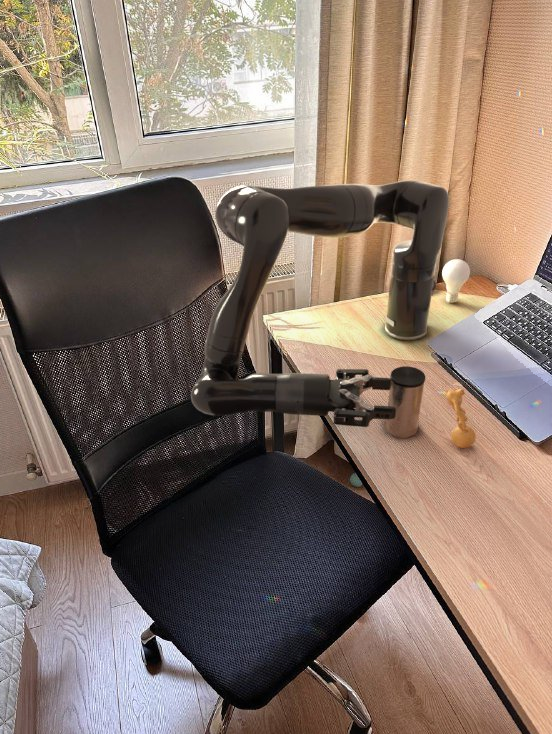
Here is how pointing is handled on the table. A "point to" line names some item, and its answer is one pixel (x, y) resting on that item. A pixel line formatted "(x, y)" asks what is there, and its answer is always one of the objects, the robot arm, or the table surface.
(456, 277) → the lightbulb
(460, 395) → the figurine
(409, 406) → the canister
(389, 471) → the table surface
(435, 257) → the robot arm
